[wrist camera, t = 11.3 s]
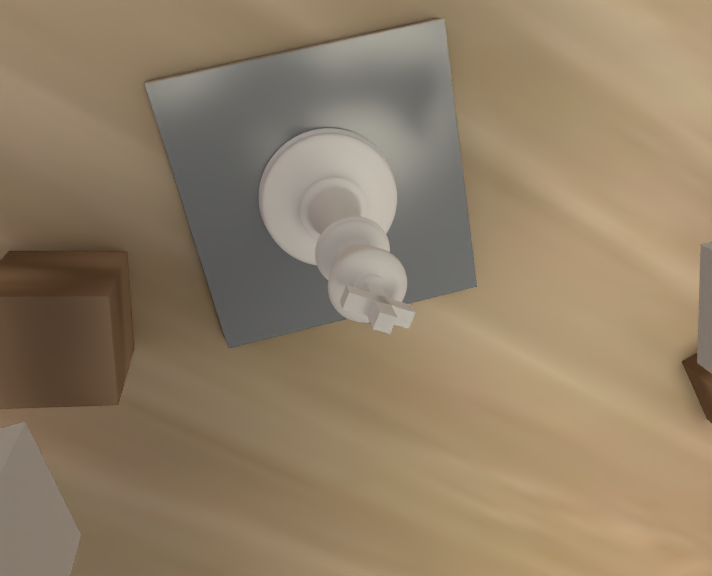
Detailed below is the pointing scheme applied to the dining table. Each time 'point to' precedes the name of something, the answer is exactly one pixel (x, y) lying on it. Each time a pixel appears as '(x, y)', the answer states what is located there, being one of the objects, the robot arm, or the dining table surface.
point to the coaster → (299, 115)
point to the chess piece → (339, 221)
